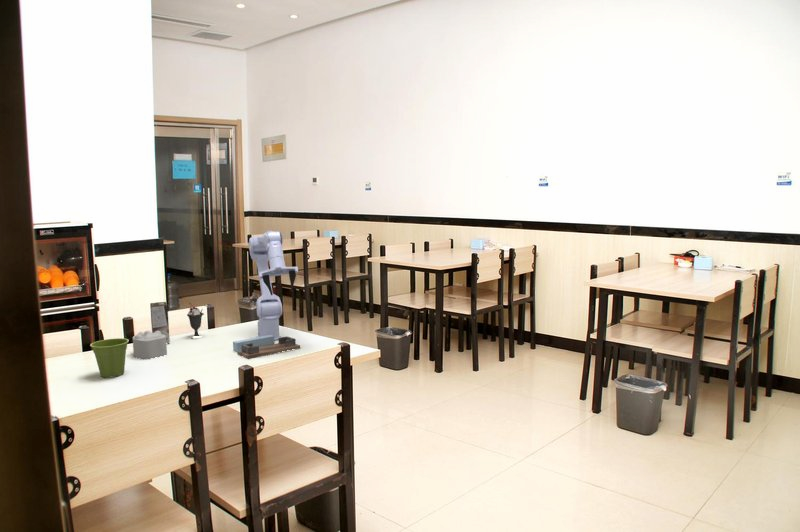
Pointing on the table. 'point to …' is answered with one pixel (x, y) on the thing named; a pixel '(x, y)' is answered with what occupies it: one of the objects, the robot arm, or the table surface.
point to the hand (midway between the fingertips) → (282, 292)
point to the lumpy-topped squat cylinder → (149, 345)
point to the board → (268, 348)
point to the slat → (254, 342)
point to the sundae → (195, 318)
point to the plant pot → (110, 356)
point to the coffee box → (160, 318)
